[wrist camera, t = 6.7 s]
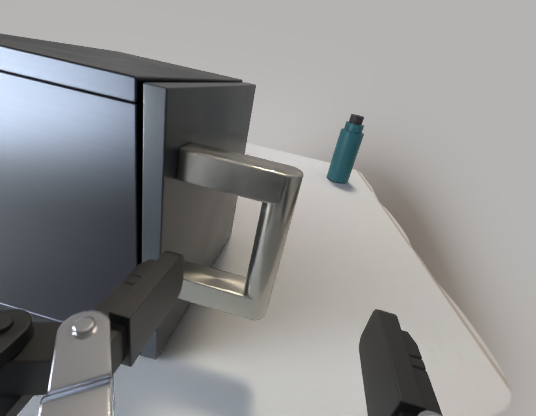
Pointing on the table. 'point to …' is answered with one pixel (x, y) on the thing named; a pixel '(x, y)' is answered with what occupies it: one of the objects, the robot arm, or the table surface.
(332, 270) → the table surface
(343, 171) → the water bottle
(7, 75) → the small dark safe
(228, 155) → the door
